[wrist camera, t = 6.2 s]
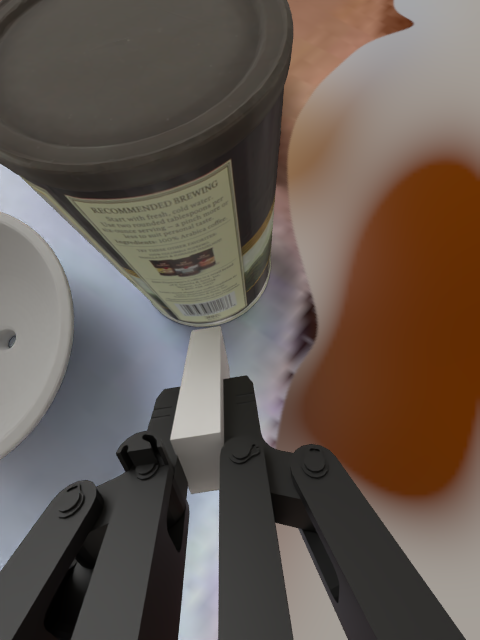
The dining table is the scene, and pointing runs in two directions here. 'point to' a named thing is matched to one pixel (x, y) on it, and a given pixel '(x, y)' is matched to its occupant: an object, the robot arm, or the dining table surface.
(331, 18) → the dining table surface
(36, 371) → the dish
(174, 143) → the coffee can
